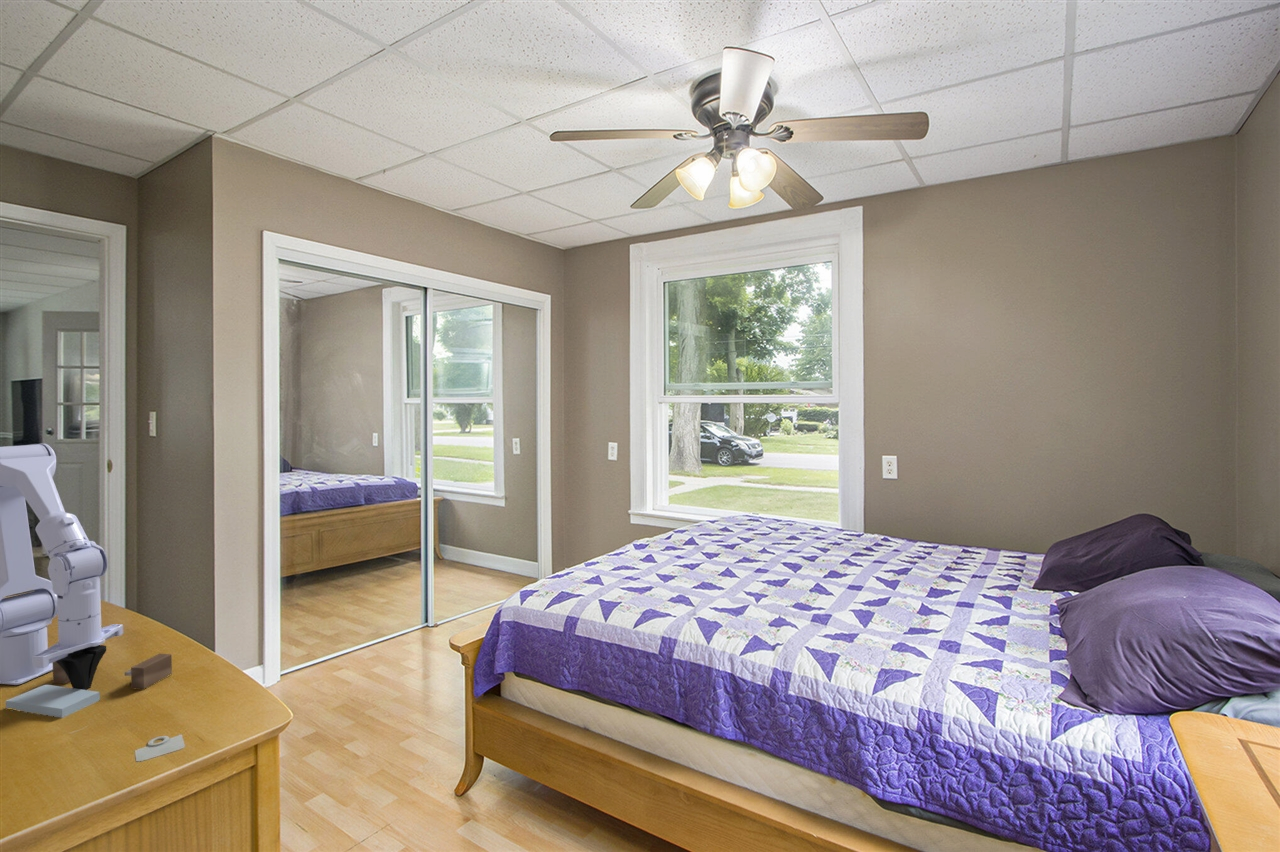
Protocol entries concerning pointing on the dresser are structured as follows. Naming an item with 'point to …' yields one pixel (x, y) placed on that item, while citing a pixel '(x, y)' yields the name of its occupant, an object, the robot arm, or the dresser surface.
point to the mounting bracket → (159, 747)
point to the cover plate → (53, 700)
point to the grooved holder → (132, 671)
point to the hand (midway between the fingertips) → (82, 689)
